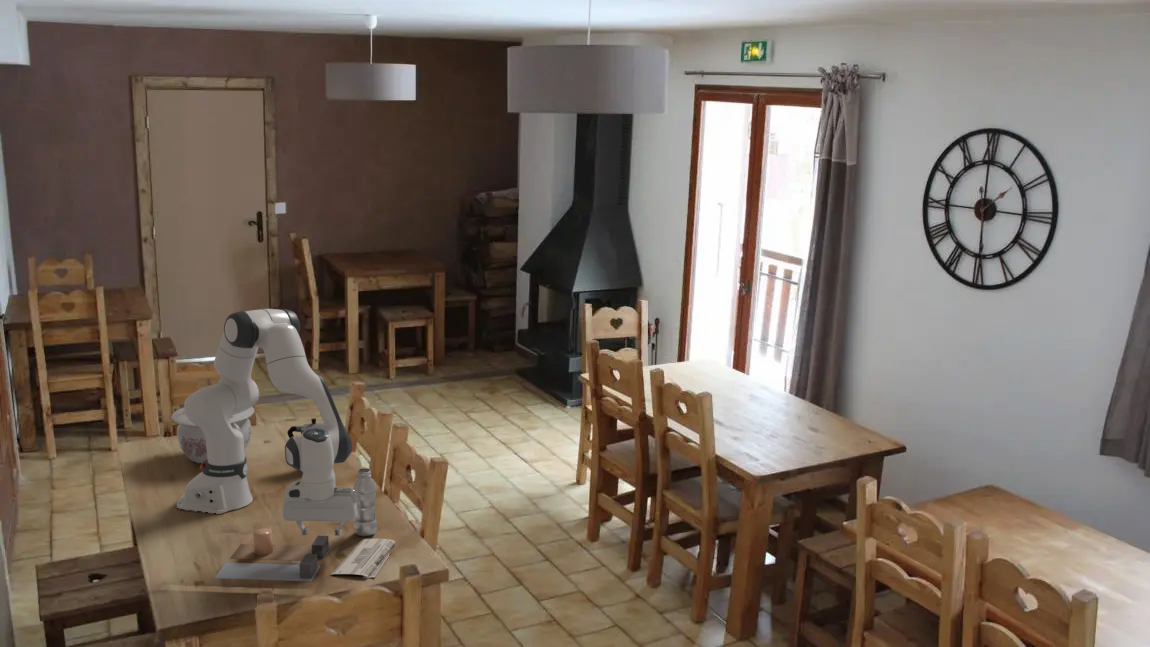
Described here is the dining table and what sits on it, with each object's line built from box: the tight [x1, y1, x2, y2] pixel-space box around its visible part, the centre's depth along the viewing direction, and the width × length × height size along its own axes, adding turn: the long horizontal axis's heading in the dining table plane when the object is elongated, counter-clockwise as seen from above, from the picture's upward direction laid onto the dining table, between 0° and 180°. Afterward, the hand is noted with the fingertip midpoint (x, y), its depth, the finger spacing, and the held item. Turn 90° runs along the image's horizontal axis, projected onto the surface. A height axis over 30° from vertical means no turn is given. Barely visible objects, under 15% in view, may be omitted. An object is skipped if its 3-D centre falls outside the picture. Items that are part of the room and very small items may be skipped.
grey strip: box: [213, 554, 321, 582], centre depth 274 cm, size 26×9×5 cm, turn 88°
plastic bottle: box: [352, 467, 378, 537], centre depth 298 cm, size 6×7×20 cm
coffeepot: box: [286, 418, 326, 439], centre depth 348 cm, size 15×9×18 cm, turn 102°
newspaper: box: [329, 538, 396, 580], centre depth 285 cm, size 23×12×2 cm, turn 170°
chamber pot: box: [170, 406, 255, 464], centre depth 355 cm, size 28×28×21 cm
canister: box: [252, 527, 274, 556], centre depth 284 cm, size 5×5×6 cm
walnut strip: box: [229, 535, 332, 562], centre depth 285 cm, size 26×9×5 cm, turn 88°
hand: (321, 534), depth 283 cm, fingers open, 8 cm apart
